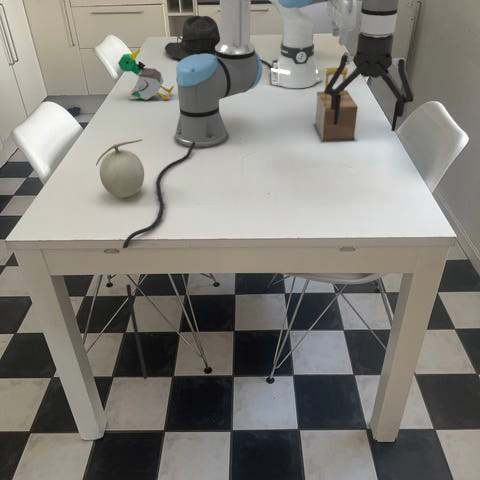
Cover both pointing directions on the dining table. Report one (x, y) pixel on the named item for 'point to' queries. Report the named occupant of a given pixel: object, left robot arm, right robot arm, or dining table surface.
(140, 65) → the toy
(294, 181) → the dining table surface
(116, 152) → the fruit
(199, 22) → the hat
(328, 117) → the chest
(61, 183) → the dining table surface
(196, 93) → the left robot arm
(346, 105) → the lid
